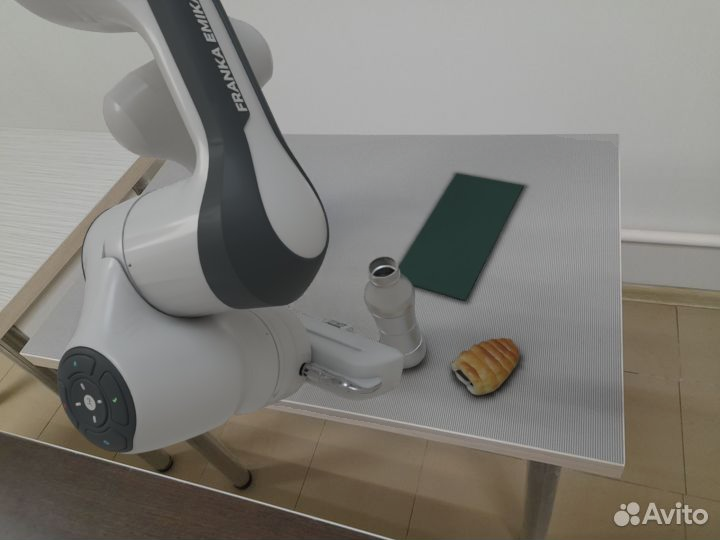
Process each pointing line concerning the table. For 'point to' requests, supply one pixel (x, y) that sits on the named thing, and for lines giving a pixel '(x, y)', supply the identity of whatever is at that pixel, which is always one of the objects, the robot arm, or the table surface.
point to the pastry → (486, 365)
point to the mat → (459, 235)
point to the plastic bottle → (394, 309)
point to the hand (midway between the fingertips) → (341, 329)
